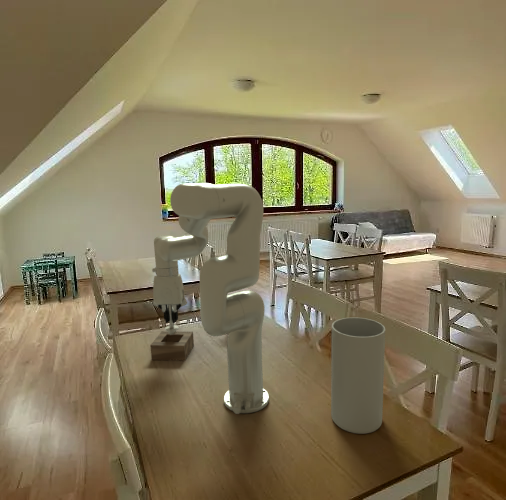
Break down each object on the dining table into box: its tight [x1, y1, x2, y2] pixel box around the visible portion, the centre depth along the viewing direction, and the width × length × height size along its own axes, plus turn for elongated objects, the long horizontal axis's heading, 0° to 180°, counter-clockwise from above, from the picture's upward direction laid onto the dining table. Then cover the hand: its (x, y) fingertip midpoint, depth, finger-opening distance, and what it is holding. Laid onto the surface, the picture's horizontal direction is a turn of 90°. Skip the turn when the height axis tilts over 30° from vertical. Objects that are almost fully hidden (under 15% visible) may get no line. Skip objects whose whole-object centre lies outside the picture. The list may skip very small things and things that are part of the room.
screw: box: [164, 305, 180, 335], centre depth 137 cm, size 13×5×5 cm
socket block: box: [150, 330, 195, 361], centre depth 139 cm, size 12×12×6 cm
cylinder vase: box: [330, 316, 386, 435], centre depth 96 cm, size 12×12×25 cm
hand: (171, 321), depth 137 cm, fingers closed on screw, 2 cm apart
